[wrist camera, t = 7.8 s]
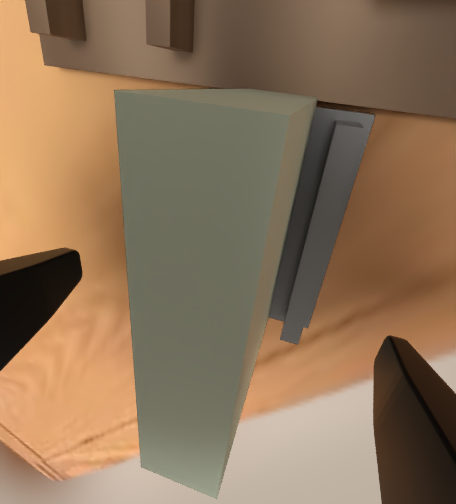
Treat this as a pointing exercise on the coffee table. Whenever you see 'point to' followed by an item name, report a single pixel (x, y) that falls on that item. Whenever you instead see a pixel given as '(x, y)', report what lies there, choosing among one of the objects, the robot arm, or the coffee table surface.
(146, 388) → the panel
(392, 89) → the rack
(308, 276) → the stand
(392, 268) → the coffee table surface
